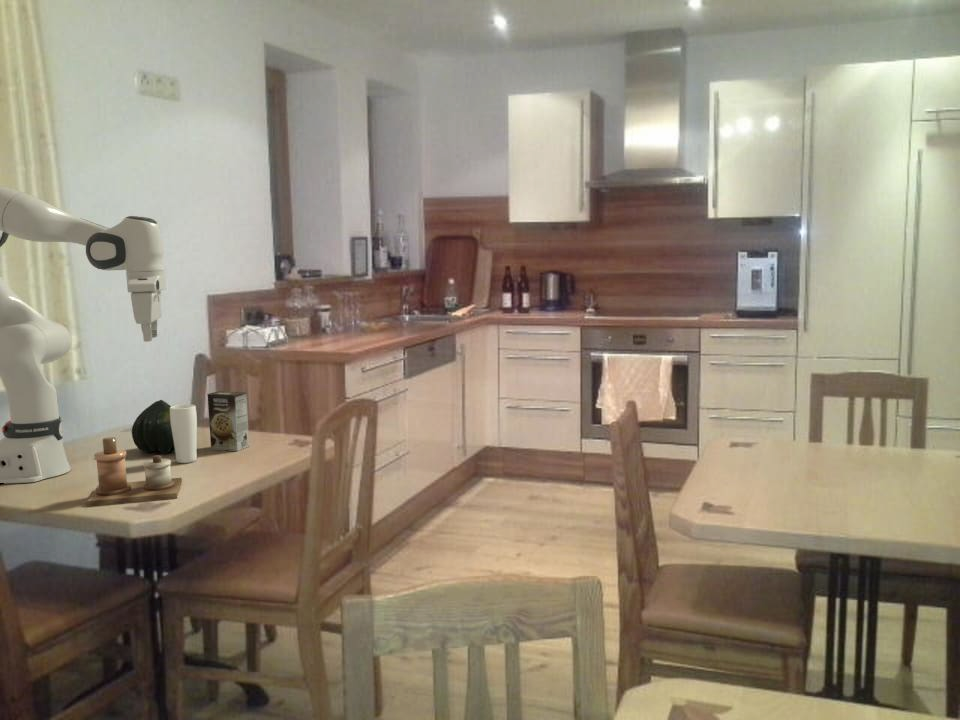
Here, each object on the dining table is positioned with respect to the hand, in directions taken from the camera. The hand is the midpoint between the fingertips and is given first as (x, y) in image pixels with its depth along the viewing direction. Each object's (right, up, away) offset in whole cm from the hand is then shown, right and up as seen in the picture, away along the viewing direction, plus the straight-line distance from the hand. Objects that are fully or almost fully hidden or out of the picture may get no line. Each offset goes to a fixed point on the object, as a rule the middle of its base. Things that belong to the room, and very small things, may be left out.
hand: (150, 339), depth 213 cm
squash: (-9, -31, +32) cm, 46 cm away
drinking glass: (+2, -33, +19) cm, 38 cm away
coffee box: (+10, -31, +33) cm, 46 cm away
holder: (+1, -36, -11) cm, 38 cm away
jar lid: (-4, -28, -14) cm, 31 cm away
